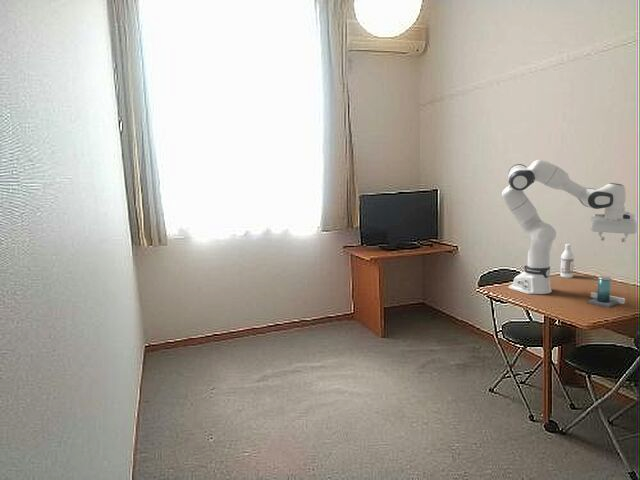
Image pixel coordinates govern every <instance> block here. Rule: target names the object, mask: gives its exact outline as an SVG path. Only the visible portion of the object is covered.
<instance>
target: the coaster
mask: <svg viewBox="0 0 640 480" xmlns="http://www.w3.org/2000/svg"><path fill="white" fill-rule="evenodd" d="M587 304H590V305H595V306H598V307H599V306H600V307H604V308H612V307H614V306H615V305H618V304H619V303H618V301H616V300H611V299H610V301H609V302H608V303H603V302H598V301H597V297H596V298H591V299H590V300H587Z"/></svg>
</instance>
